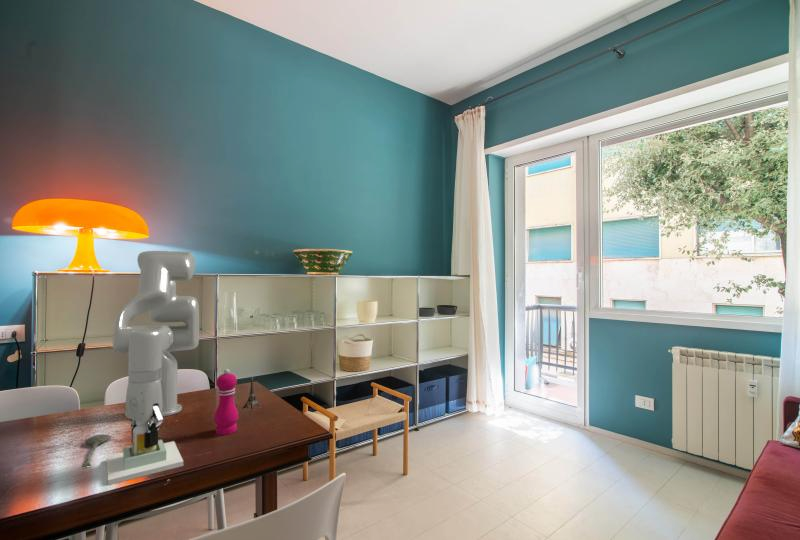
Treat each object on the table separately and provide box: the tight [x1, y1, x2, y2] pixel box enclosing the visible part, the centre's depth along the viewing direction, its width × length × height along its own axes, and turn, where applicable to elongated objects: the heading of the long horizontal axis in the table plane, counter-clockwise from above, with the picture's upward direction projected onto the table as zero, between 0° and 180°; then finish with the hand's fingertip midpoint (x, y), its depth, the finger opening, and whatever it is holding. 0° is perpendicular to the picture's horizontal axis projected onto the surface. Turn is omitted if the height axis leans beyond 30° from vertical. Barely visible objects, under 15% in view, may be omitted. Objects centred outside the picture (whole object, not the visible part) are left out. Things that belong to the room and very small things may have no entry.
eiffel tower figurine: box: [242, 376, 262, 410], centre depth 151 cm, size 15×10×13 cm
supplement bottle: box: [132, 417, 156, 456], centre depth 106 cm, size 5×5×10 cm
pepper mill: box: [213, 368, 239, 436], centre depth 128 cm, size 7×7×20 cm
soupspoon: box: [82, 433, 113, 468], centre depth 113 cm, size 22×3×7 cm
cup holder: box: [106, 439, 184, 486], centre depth 106 cm, size 16×16×4 cm
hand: (144, 443), depth 106 cm, fingers closed on supplement bottle, 5 cm apart
